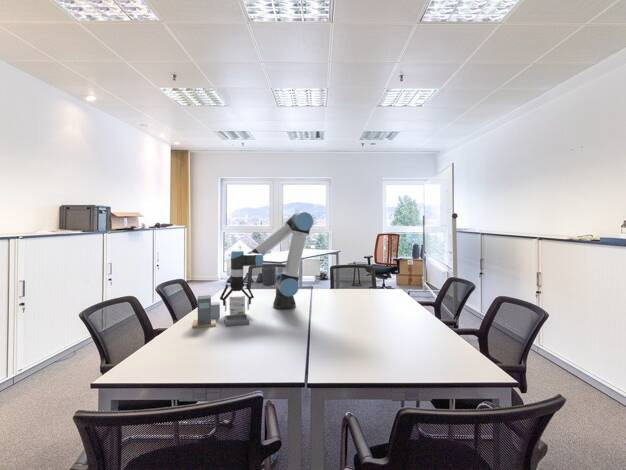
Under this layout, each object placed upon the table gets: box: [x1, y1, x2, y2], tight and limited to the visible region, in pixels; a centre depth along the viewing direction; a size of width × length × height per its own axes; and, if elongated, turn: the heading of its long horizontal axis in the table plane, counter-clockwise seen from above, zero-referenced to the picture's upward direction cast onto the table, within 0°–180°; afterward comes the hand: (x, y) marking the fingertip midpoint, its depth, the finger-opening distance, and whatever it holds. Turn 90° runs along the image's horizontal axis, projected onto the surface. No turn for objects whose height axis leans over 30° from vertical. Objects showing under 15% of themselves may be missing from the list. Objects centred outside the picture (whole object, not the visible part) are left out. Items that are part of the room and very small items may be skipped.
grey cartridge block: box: [211, 301, 221, 319], centre depth 205 cm, size 5×6×8 cm
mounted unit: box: [192, 295, 217, 329], centre depth 190 cm, size 12×12×15 cm
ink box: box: [228, 295, 246, 315], centre depth 209 cm, size 9×5×12 cm, turn 86°
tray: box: [224, 313, 250, 327], centre depth 194 cm, size 12×13×2 cm
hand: (237, 310), depth 209 cm, fingers open, 13 cm apart
